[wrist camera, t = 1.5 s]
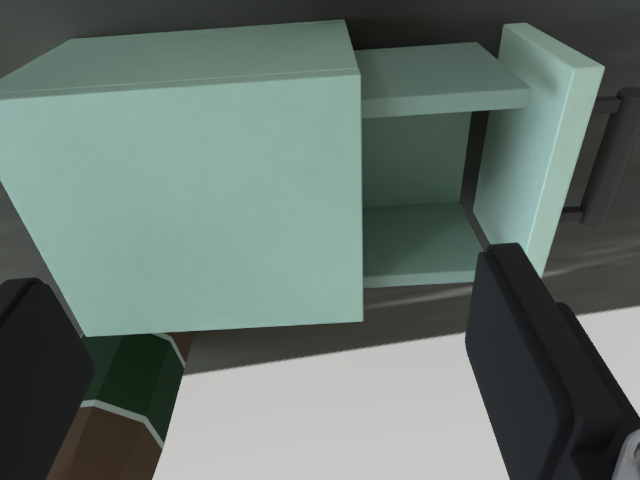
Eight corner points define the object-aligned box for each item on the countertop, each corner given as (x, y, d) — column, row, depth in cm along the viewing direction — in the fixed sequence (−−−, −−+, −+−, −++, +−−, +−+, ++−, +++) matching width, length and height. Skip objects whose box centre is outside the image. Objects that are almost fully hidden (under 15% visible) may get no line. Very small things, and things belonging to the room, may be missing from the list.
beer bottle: (75, 300, 35) (-204, 775, 16) (149, 258, 33) (-74, 756, 14) (147, 355, 39) (-9, 788, 20) (217, 321, 37) (118, 774, 18)
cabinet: (344, 18, 24) (361, 74, 16) (350, 218, 31) (363, 321, 24) (69, 38, 24) (-44, 102, 16) (140, 231, 32) (85, 337, 24)
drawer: (610, 16, 23) (721, 58, 17) (555, 206, 30) (619, 286, 24) (263, 40, 24) (245, 91, 17) (286, 222, 30) (280, 306, 24)
